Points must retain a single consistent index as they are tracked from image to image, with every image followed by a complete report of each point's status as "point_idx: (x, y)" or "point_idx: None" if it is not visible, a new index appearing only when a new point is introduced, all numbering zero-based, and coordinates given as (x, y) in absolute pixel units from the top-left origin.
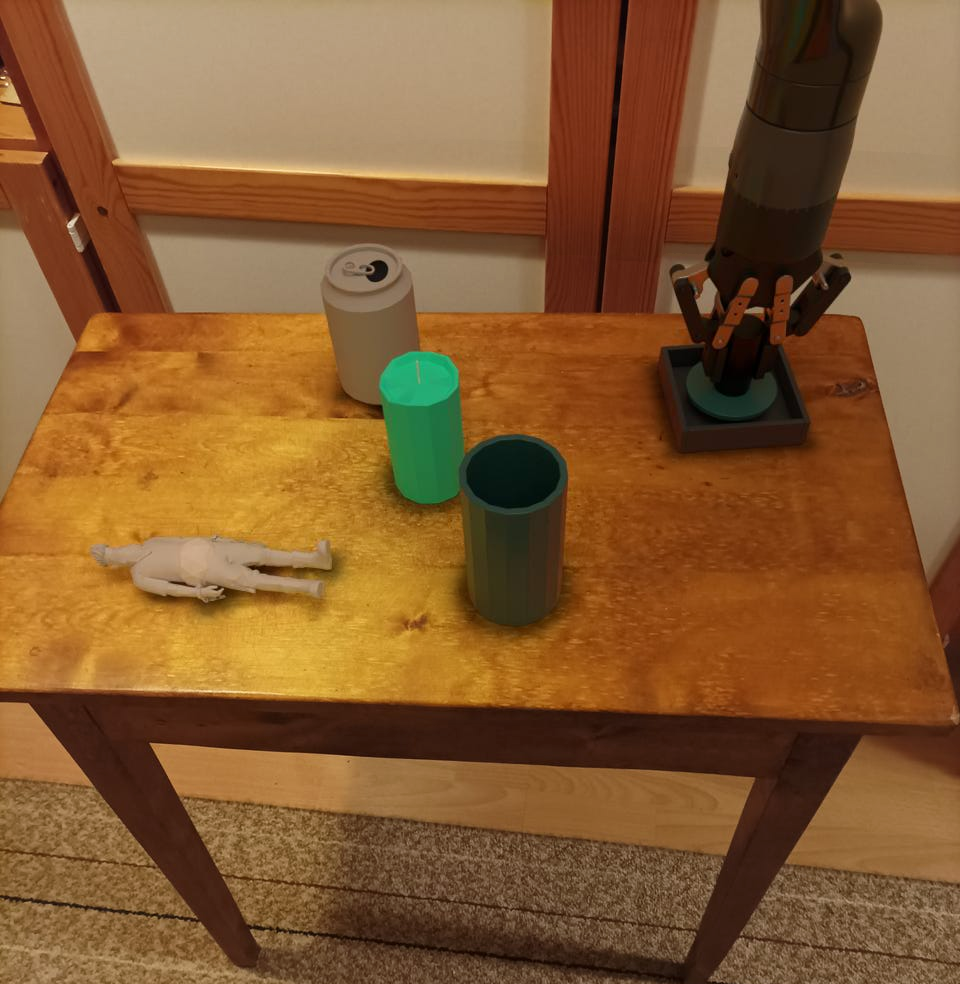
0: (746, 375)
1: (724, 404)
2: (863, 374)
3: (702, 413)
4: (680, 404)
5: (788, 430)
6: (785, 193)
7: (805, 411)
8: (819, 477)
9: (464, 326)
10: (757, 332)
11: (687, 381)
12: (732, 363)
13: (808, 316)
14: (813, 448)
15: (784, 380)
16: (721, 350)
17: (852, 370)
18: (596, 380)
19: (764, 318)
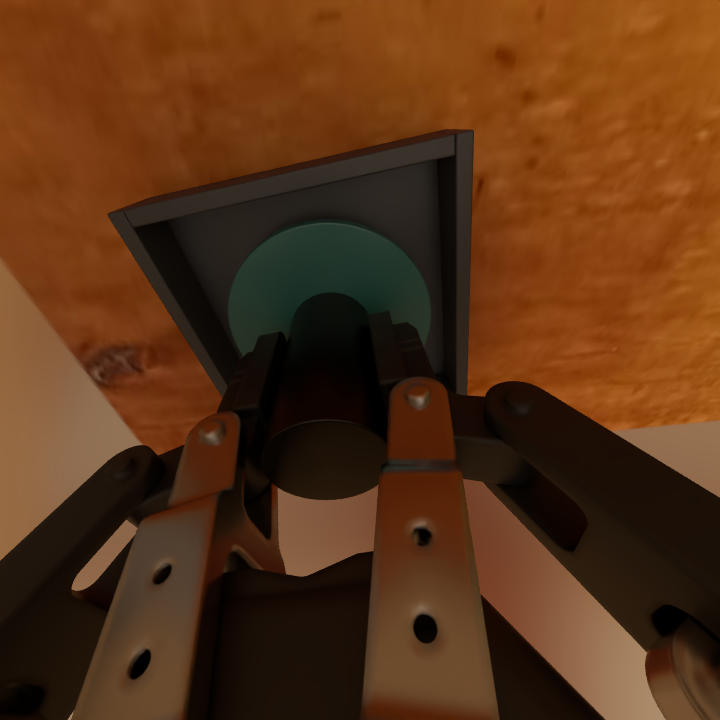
0: (303, 329)
1: (346, 265)
2: (105, 396)
3: None
4: (458, 249)
5: (171, 196)
6: None
7: (137, 256)
8: (57, 55)
9: (716, 416)
10: (286, 446)
11: (426, 329)
12: (349, 348)
13: (72, 535)
14: (119, 186)
15: (224, 358)
16: (398, 375)
17: (127, 401)
18: (562, 337)
19: (271, 493)
